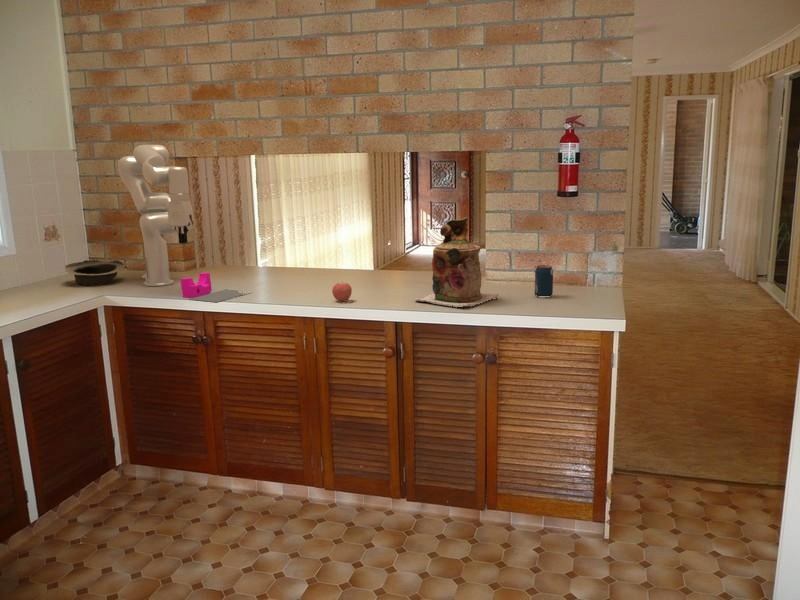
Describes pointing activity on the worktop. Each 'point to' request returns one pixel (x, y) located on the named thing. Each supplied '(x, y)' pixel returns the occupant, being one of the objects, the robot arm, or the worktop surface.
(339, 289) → the apple
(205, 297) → the mat
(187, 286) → the toy block
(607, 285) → the worktop surface
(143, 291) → the worktop surface
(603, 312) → the worktop surface
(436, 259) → the cookie jar
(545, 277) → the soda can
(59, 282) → the worktop surface
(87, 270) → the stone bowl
